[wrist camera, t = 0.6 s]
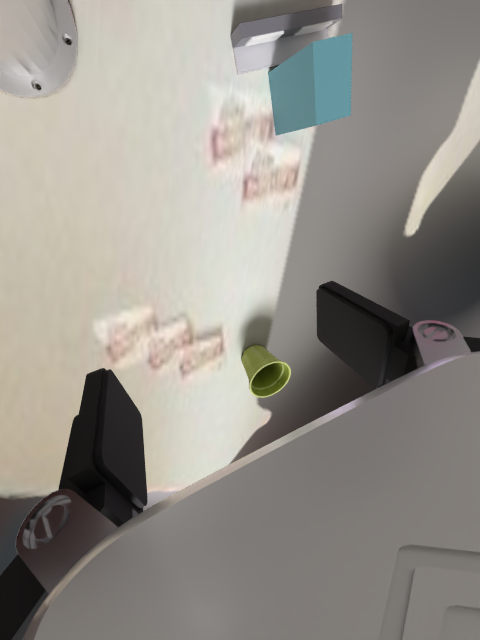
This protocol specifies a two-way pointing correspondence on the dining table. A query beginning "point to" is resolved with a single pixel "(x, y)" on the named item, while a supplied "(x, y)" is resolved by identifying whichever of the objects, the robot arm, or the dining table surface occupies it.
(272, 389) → the plant pot
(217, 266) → the dining table surface
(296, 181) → the dining table surface
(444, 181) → the dining table surface
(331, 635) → the robot arm
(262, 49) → the rail
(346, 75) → the tea box
